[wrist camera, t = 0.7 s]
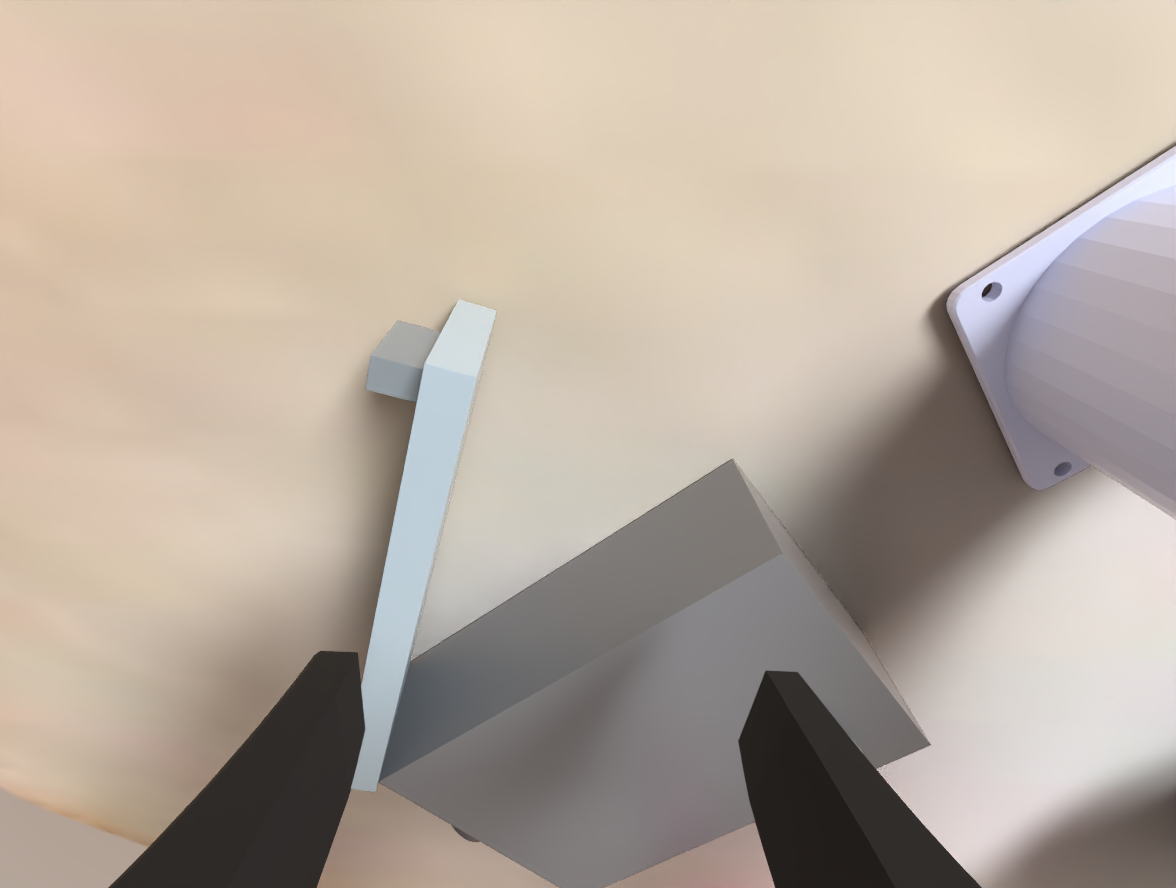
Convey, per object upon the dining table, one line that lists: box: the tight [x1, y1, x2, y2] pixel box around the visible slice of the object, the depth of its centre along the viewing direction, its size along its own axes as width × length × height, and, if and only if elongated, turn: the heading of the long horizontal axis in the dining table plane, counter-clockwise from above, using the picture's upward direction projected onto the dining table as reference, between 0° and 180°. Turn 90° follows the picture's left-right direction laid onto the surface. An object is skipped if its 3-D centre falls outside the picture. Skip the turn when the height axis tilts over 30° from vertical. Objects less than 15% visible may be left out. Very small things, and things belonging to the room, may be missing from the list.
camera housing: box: [378, 459, 931, 888], centre depth 20 cm, size 15×10×5 cm, turn 127°
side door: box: [351, 300, 497, 792], centre depth 16 cm, size 14×2×4 cm, turn 162°
